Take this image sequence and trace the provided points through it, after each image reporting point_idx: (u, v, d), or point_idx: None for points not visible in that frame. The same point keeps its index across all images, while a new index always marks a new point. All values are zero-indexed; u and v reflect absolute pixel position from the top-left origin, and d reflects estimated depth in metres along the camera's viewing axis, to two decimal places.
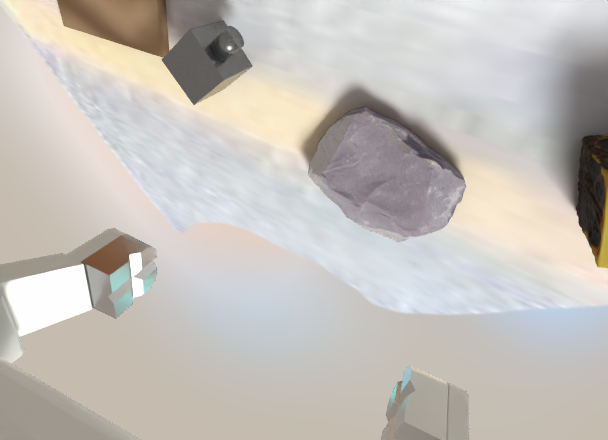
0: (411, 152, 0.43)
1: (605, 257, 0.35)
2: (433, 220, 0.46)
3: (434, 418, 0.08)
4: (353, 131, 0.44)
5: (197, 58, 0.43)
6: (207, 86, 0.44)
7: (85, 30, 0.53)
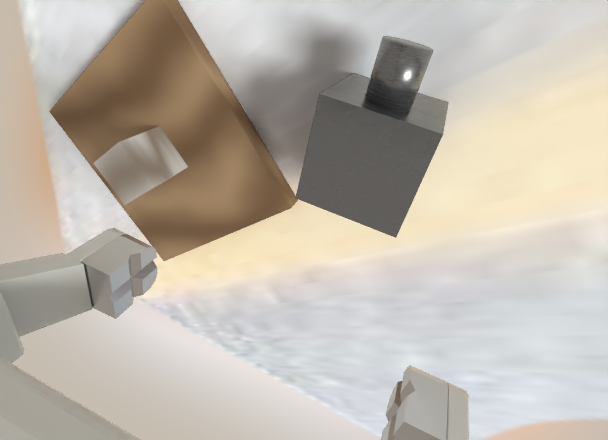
0: None
1: None
2: None
3: (434, 418, 0.08)
4: None
5: (359, 140, 0.19)
6: (408, 179, 0.19)
7: (186, 248, 0.36)
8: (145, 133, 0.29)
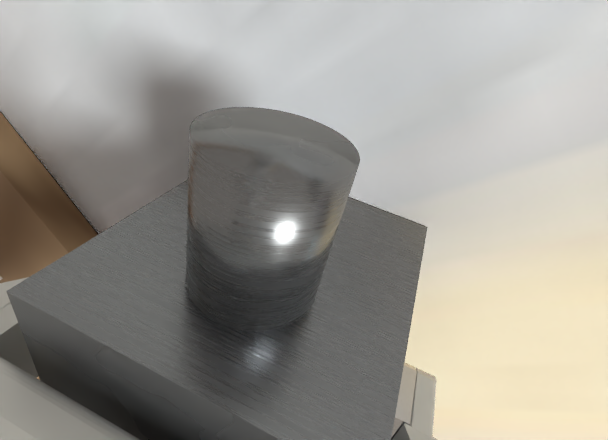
0: None
1: None
2: None
3: (400, 401, 0.08)
4: None
5: (146, 418, 0.06)
6: None
7: None
8: None
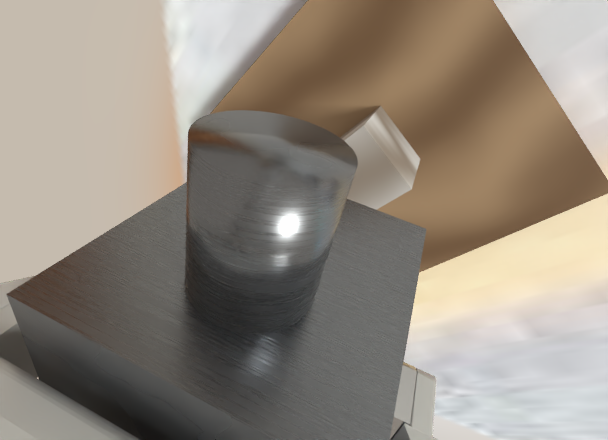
0: None
1: None
2: None
3: (400, 401, 0.08)
4: None
5: (145, 420, 0.06)
6: None
7: None
8: (376, 114, 0.19)
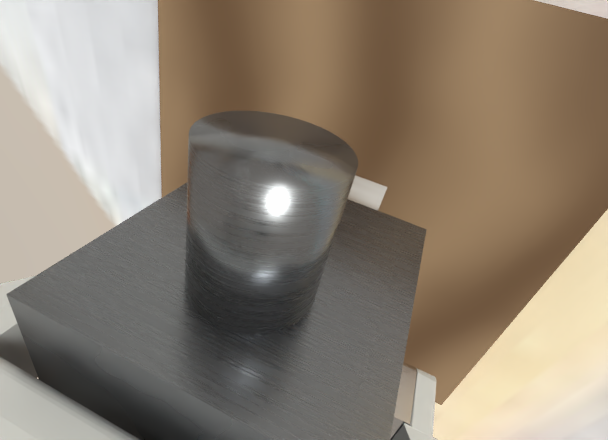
0: None
1: None
2: None
3: (400, 401, 0.08)
4: None
5: (145, 420, 0.06)
6: None
7: (472, 356, 0.17)
8: None
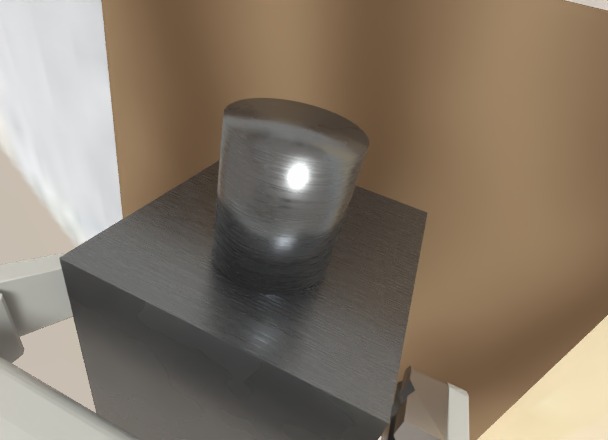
0: None
1: None
2: None
3: (434, 418, 0.08)
4: None
5: (179, 371, 0.07)
6: None
7: (482, 421, 0.14)
8: None
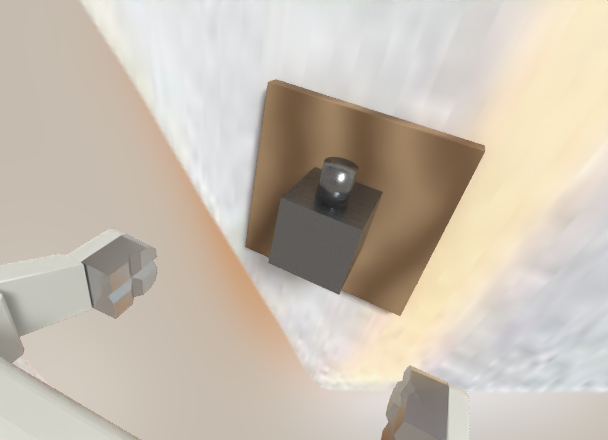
0: None
1: None
2: None
3: (434, 418, 0.08)
4: None
5: (309, 228, 0.27)
6: (343, 256, 0.27)
7: (412, 284, 0.34)
8: None
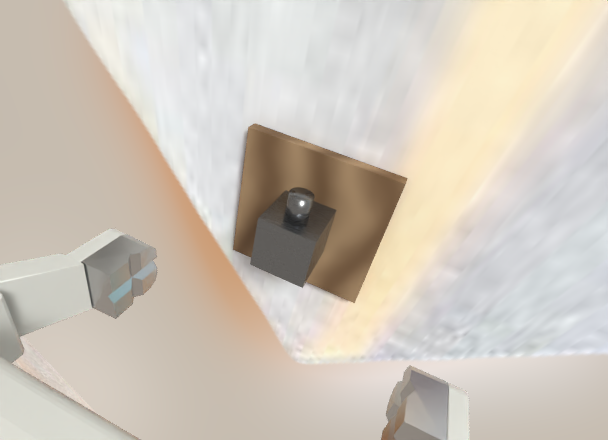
0: None
1: None
2: None
3: (434, 418, 0.08)
4: None
5: (279, 240, 0.36)
6: (304, 260, 0.36)
7: (361, 278, 0.44)
8: None
